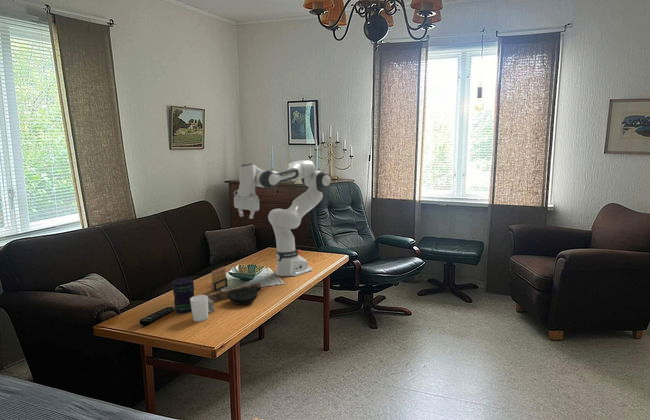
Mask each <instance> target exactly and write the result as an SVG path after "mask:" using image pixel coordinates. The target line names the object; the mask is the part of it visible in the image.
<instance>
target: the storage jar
mask: <svg viewBox="0 0 650 420" xmlns="http://www.w3.org/2000/svg"><path fill="white" fill-rule="evenodd" d="M194 282H195V281H194V278H193V277H187V276H186V277H179V278H176V279H173V280H172V293H173V296H174V300H173V303H174V304H173V305H174V306H173V307H174V310H175V311H174V312H175V313H176V314H178V313H179V314H180V315H181V314H182V315H183V314H189V313H192V310H191V303H190V298H192V297H194V296H195V283H194Z"/></svg>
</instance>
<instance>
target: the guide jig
mask: <svg viewBox="0 0 650 420" xmlns="http://www.w3.org/2000/svg"><path fill="white" fill-rule="evenodd" d="M252 286H253V287H259V288H260V291H262V289H263V288H262V282H259V281H258V282H253V283H250V284H246V285H242V286H238V287H234V288H229V289H225V290H224V289H223V290H219V291H216V292H211V293H208V294H205V295H206V296H208V313H210V314H211V313H215V304H214V303H216V302H219V301H224V300H229V298H228V293H230V292H231V291H233V290H237V289H245V288H251V287H252Z"/></svg>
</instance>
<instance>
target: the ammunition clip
mask: <svg viewBox="0 0 650 420" xmlns="http://www.w3.org/2000/svg"><path fill="white" fill-rule="evenodd" d="M226 272H227V271H226V267H225V265H223V266H220V267H219V268H216V269H214V270H213V269H212V271H211V293H216V292H219V291H221V290H222V289H223V290H224V289H225V288H226V287H228V286H229V285H228V278H227V273H226Z"/></svg>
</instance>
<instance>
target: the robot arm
mask: <svg viewBox="0 0 650 420" xmlns="http://www.w3.org/2000/svg"><path fill="white" fill-rule="evenodd" d="M238 179H239V185H238V189H237V190H234V192H233V195H234V197H233V206H234V208H235V209H237V210H238V211H237V212H238V213H239V215H238V216H239V217H241V218H242V217H244V212H243V210H248V211H250V213H249V216H248V219H250V220H251V219H252V220H253V219H254V215H255V213H256V212H259V210H260V199H259V196H258V194H257V193H256V187H259V188H266V189H267V190H268V189H274V188H276V187H277V186H278V185H280V184H281V183H284V182H288V181H298V180H301V184H303V186H304V187H307V190H305V192H302V193H301V194H300V195H299V196H297V197H295V198H294V199H292V200H293V201H292V202H291V205H290V206H289V207H288V208H285V209H284V208H274V209H271V210H270V211H269V213H268V215H267V219H268V222H269V223H270V224H271V226H272V229H273V232H274V235H275V242H276V252H275V255H276V256H275V257H276V271H275V275H277V276H280V277H297V276H299V275H302V274H303V275H304V274H306V273H309V272H312V271H313V267H311V266H310V265H309V264H308V263H309V262H308V261H307V259H306V258H304V257H302V256H301V255H299V254H301V253H302V250H301V249H296V242H295V239H296V238H295V236H294V234H293V232H292V231H291V230H294V229H295V230H296V229H297V228H298V227H299V226H300V225H301V223H302V219H303V217H304V216H305V215H306V214H307V213H309V212H310V211H311V210H313V209H314V208H315V207H316V206H317V205H319V203H321V201H322V199H323V192H326V191H327V190H328V188H329V187H330V186H331V184H332V175H331V174H330V173H328V172H326V171H322V170H316V166H315V164H314V162H313V161H312V160H309V159H308V160H307V159H304V160H296V161H292V162H290V163H288V164H286V166H285V168H284V169H283V170H279V171H276V170H264V169H261V168H259V167H258V166H256V165H255V164H254V163H245V164H242V165H241V166H240V168H239V177H238Z"/></svg>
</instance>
